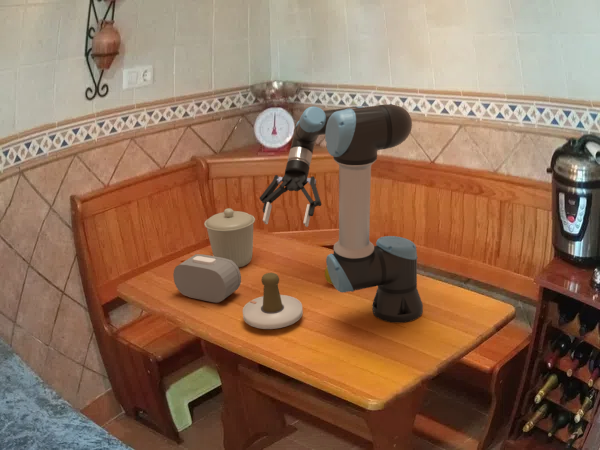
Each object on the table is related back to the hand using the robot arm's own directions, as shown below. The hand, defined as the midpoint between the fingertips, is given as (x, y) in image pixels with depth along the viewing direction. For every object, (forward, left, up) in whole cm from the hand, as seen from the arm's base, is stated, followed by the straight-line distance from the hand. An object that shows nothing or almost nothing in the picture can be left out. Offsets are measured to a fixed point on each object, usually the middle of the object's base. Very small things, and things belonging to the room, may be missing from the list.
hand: (285, 223), depth 212 cm
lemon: (-8, -13, -25) cm, 30 cm away
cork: (-5, +16, -21) cm, 27 cm away
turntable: (-5, +16, -23) cm, 28 cm away
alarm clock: (+24, +13, -25) cm, 37 cm away
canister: (+34, -11, -25) cm, 44 cm away
